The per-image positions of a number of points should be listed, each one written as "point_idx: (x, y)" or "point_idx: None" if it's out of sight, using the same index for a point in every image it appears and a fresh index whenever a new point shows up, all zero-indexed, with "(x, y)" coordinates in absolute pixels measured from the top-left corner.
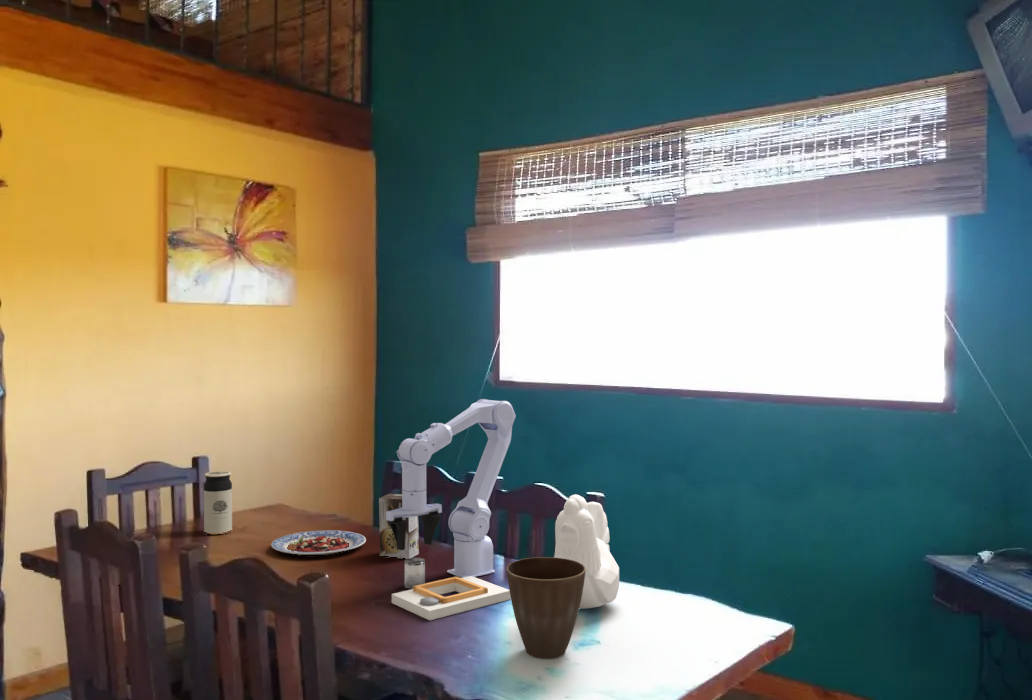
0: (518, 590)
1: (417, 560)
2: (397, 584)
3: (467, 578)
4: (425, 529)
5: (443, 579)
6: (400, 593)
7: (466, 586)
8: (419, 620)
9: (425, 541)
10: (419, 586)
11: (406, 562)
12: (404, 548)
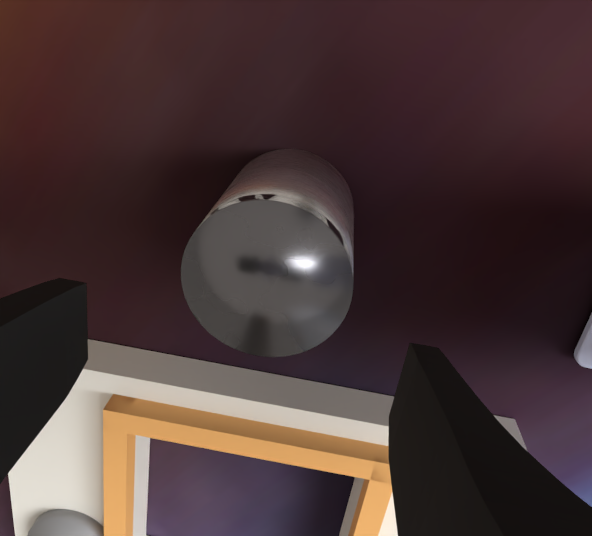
0: None
1: (280, 301)
2: (234, 102)
3: None
4: (438, 471)
5: (307, 449)
6: None
7: (348, 533)
8: (12, 526)
9: (405, 374)
10: (128, 433)
11: (181, 271)
12: (79, 372)
